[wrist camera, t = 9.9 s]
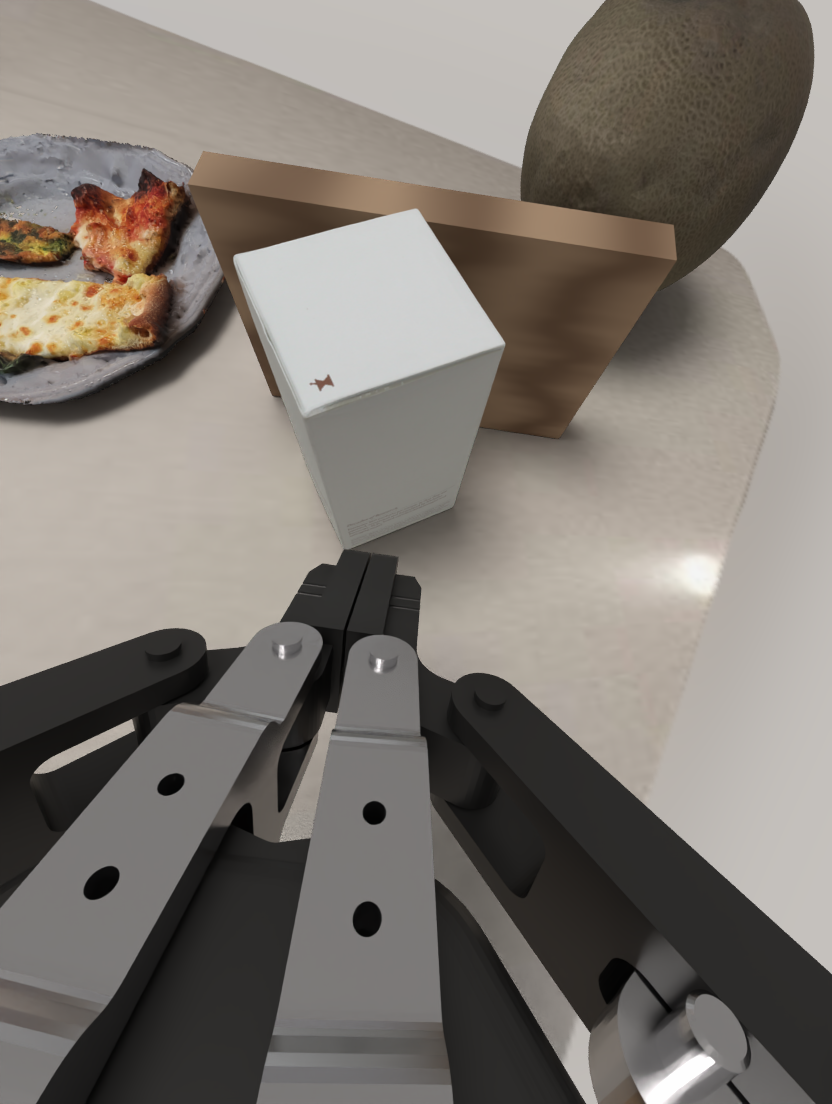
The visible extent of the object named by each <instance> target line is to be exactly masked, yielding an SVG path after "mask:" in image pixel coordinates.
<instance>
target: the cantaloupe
mask: <svg viewBox="0 0 832 1104" xmlns="http://www.w3.org/2000/svg"><path fill="white" fill-rule="evenodd" d="M813 69H814V42H813V33H812V28H811V23H810V21H809V18H808V15H807V13H806V11H805V9H804V8H803V6H802V5H801V4H800V2H798V0H606V1H605V2H604V3H603V4H602V5H601V6H600V8H599V9H598V10H597V11H596V13H595V14H594V15H593V17H592V18H591V19H590V20H589V21H588V22H587V23H586V24H585V25H584V27H583V28H582V29H581V30H580V31H579V32H578V34H577V35H576V37H575V38H574V39H573V41H572V42H571V44H570V45H569V46H568V48H567V50H566V52H565V53H564V55H563V57H562V59H561V61H560V63H559V64H558V66H557V69H556V71H555V72H554V74H553V76H552V79H551V80H550V82H549V84H548V86H547V88H546V90H545V92H544V94H543V97H542V99H541V101H540V103H539V105H538V108H537V110H536V113H535V116H534V119H533V121H532V124H531V126H530V129H529V133H528V136H527V141H526V146H525V151H524V158H523V165H522V173H521V201H524V202H530V203H537V204H543V205H549V206H556V207H562V208H569V209H575V210H581V211H588V212H594V213H601V214H607V215H613V216H620V217H626V218H632V219H639V220H645V221H652V222H658V223H664V224H671V225H674V234H675V245H676V256H677V261H676V263H675V264H674V266H673V267H672V269H671V270H670V272H669V273H668V275H667V276H666V278H665V279H664V281H663V282H662V284H661V285H660V287H659V288H658V290H657V291H659V290H662V289H664V288H666V287H667V286H669V285H671V284H673V283H674V282H676V281H678V280H679V279H681V278H682V277H684V276H685V275H687V274H688V273H690V272H691V271H693V270H694V269H695V268H697V267H698V266H699V265H701V264H702V263H703V262H704V261H706V260H707V259H708V258H709V257H710V256H711V255H713V254H714V253H715V252H716V251H717V250H718V249H719V248H720V247H721V246H722V245H723V244H724V243H725V242H726V241H727V240H728V239H729V238H730V237H731V236H732V235H733V234H734V232H735V231H736V230H737V229H738V228H739V227H740V225H741V224H742V223H743V222H744V221H745V219H746V218H747V217H748V216H749V214H750V213H751V212H752V210H753V209H754V208H755V206H756V205H757V203H758V202H759V201H760V199H761V198H762V196H763V195H764V193H765V191H766V190H767V188H768V187H769V185H770V184H771V182H772V180H773V179H774V177H775V175H776V174H777V172H778V170H779V168H780V166H781V164H782V163H783V161H784V159H785V157H786V155H787V153H788V152H789V149H790V147H791V145H792V142H793V140H794V138H795V136H796V134H797V131H798V128H799V126H800V123H801V121H802V118H803V115H804V112H805V109H806V106H807V103H808V98H809V94H810V90H811V85H812V79H813ZM657 291H656V292H657Z"/></svg>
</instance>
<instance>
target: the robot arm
mask: <svg viewBox="0 0 832 1104" xmlns="http://www.w3.org/2000/svg"><path fill="white" fill-rule="evenodd" d="M397 565H398V557H395V556H389V555H382V554H375V553H372V556H371V553H368V552H361V551H354V550H347V549H344V551H343V553H342V555H341V557H340V559H339V561H338V563H337V565H329V564H321V565H319V566H318V567H316V568H314V569H313V570H311V571H310V572H309V573H308V575H307V577H306V578H305V580H304V582H303V585H301V587H300V589H299V590H298V593H297V594H296V595H295V597H294V599H293V600H292V602H291V604H290V606H289V607H288V609H287V611H286V612H285V614H284V616H283V618H282V619H281V621H280V623H276V624H273V625H270V626H267V627H265V628H264V629H262V630H260V631H259V632H258V633H257V634H256V635H255V636H254V637H253V638H252V640H251V641H250V642H249V643H248V645H247V646H245V647H239V648H230V649H217V650H207V647H206V642H205V639H204V638H203V637H202V636H201V635H200V634H199V633H197V632H195V631H192V630H188V629H179V628H173V629H163V630H159V631H155V632H152V633H148V634H146V635H143V636H140V637H137V638H134V639H132V640H129V641H126V642H123V643H120V644H118V645H115V646H112V647H109V648H106V649H103V650H101V651H98V652H95V653H92V654H89V655H87V656H84V657H81V658H78V659H75V660H73V661H70V662H67V663H64V664H61V665H59V666H56V667H53V668H50V669H47V670H45V671H42V672H39V673H36V674H33V675H31V676H28V677H25V678H22V679H19V680H16V681H14V682H11V683H8V684H5V685H2V686H0V1104H586V1103H585V1101H584V1100H583V1098H582V1096H581V1095H580V1093H579V1091H578V1090H577V1088H576V1086H575V1085H574V1083H573V1081H572V1080H571V1078H570V1076H569V1075H568V1073H567V1071H566V1069H565V1068H564V1066H563V1064H562V1063H561V1061H560V1059H559V1058H558V1056H557V1054H556V1053H555V1051H554V1049H553V1048H552V1046H551V1044H550V1043H549V1041H548V1039H547V1038H546V1036H545V1034H544V1033H543V1031H542V1029H541V1027H540V1026H539V1024H538V1022H537V1021H536V1019H535V1017H534V1016H533V1014H532V1012H531V1011H530V1009H529V1007H528V1006H527V1004H526V1002H525V1001H524V999H523V997H522V996H521V994H520V992H519V991H518V989H517V987H516V985H515V984H514V982H513V980H512V979H511V977H510V975H509V974H508V972H507V970H506V969H505V967H504V965H503V964H502V962H501V960H500V959H499V957H498V955H497V954H496V952H495V950H494V949H493V947H492V945H491V943H490V942H489V940H488V938H487V937H486V935H485V934H484V932H483V930H482V929H481V927H480V926H479V924H478V923H477V921H476V920H475V919H474V917H473V916H472V915H471V913H470V912H469V911H468V910H467V908H466V907H465V906H464V905H463V904H462V903H461V902H460V901H459V899H458V898H457V897H456V896H455V895H454V894H453V893H452V892H451V891H450V890H448V889H447V888H446V887H445V886H444V885H442V884H441V883H440V882H439V881H438V880H436V879H434V863H433V844H432V825H431V805H430V799H431V801H432V804H433V806H434V808H435V809H436V811H437V812H438V814H439V815H440V817H441V818H442V820H443V821H444V822H445V824H446V825H447V827H448V828H449V830H450V831H451V833H452V834H453V835H454V837H455V838H456V840H457V841H458V843H459V844H460V846H461V847H462V848H463V850H464V851H465V853H466V854H467V856H468V857H469V859H470V860H471V861H472V863H473V864H474V866H475V867H476V869H477V870H478V872H479V873H480V874H481V876H482V877H483V879H484V880H485V882H486V883H487V885H488V886H489V887H490V889H491V890H492V892H493V893H494V895H495V896H496V898H497V899H498V900H499V902H500V903H501V905H502V906H503V908H504V909H505V911H506V912H507V913H508V915H509V916H510V918H511V919H512V921H513V922H514V924H515V925H516V926H517V928H518V929H519V931H520V932H521V934H522V935H523V937H524V938H525V939H526V941H527V942H528V944H529V945H530V947H531V948H532V950H533V951H534V952H535V954H536V955H537V957H538V958H539V960H540V961H541V963H542V964H543V965H544V967H545V968H546V970H547V971H548V973H549V974H550V976H551V977H552V978H553V980H554V981H555V983H556V984H557V986H558V987H559V989H560V990H561V991H562V993H563V994H564V996H565V997H566V999H567V1000H568V1002H569V1003H570V1004H571V1006H572V1007H573V1009H574V1010H575V1012H576V1013H577V1015H578V1016H579V1017H580V1019H581V1020H582V1022H583V1023H584V1025H585V1026H586V1028H587V1029H588V1030H589V1032H590V1033H591V1034H590V1040H589V1067H590V1075H591V1080H592V1084H593V1089H594V1092H595V1095H596V1098H597V1101H598V1104H832V974H831V973H830V972H829V971H828V970H826V969H825V968H824V967H823V966H822V965H821V964H820V963H819V962H818V961H817V960H815V959H814V958H813V957H812V956H811V955H810V954H809V953H808V952H807V951H805V950H804V949H803V948H802V947H801V946H800V945H799V944H798V943H797V942H796V941H794V940H793V939H792V938H791V937H790V936H789V935H788V934H787V933H785V932H784V931H783V930H782V929H781V928H780V927H779V926H778V925H777V924H775V923H774V922H773V921H772V920H771V919H770V918H769V917H768V916H767V915H766V914H765V913H763V912H762V911H761V910H760V909H759V908H758V907H757V906H756V905H755V904H754V903H752V902H751V901H750V900H749V899H748V898H747V897H746V896H745V895H744V894H742V893H741V892H740V891H739V890H738V889H737V888H736V887H735V886H734V885H732V884H731V883H730V882H729V881H728V880H727V879H726V878H725V877H724V876H723V875H721V874H720V873H719V872H718V871H717V870H716V869H715V868H714V867H713V866H711V865H710V864H709V863H708V862H707V861H706V860H705V859H704V858H703V857H702V856H700V855H699V854H698V853H697V852H696V851H695V850H694V849H692V847H691V846H689V845H688V844H687V843H686V842H685V841H684V840H683V839H682V838H680V837H679V836H678V835H677V834H676V833H675V832H674V831H673V830H671V828H669V827H668V826H667V825H666V824H665V823H664V822H663V821H662V820H661V819H659V818H658V817H657V816H656V815H655V814H654V813H653V812H652V811H651V810H650V809H649V808H647V807H646V806H645V805H644V804H643V803H642V802H641V801H640V800H639V799H637V798H636V797H635V796H634V795H633V794H632V793H631V792H630V791H629V790H628V789H626V788H625V787H624V786H623V785H622V784H621V783H620V782H619V781H618V780H616V779H615V778H614V777H613V776H612V775H611V774H610V773H609V772H608V771H607V770H605V769H604V768H603V767H602V766H601V765H600V764H599V763H598V762H597V761H595V760H594V759H593V758H592V757H591V756H590V755H589V754H588V753H587V752H586V751H584V750H583V749H582V748H581V747H580V746H579V745H578V744H577V743H576V742H574V741H573V740H572V739H571V738H570V737H569V736H568V735H567V734H566V733H565V732H563V731H562V730H561V729H560V728H559V727H558V726H557V725H556V724H555V723H553V722H552V721H551V720H550V719H549V718H548V717H547V716H546V715H545V714H544V713H542V712H541V711H540V710H539V709H538V708H537V707H536V706H535V705H534V704H532V703H531V702H530V701H529V700H528V699H527V698H526V697H525V696H524V695H523V694H521V693H520V692H519V691H518V690H517V689H516V688H515V687H514V686H512V685H511V684H510V683H508V682H507V681H505V680H503V679H501V678H499V677H497V676H494V675H490V674H485V673H472V674H468V675H465V676H463V677H461V678H460V679H458V680H457V681H456V683H453V682H451V681H448V680H446V679H443V678H441V677H439V676H437V675H435V674H434V673H432V672H431V671H429V670H428V669H427V668H426V667H425V666H424V665H423V664H422V663H421V661H420V660H419V658H418V655H417V636H418V624H419V610H420V599H421V587H420V585H419V583H418V582H417V580H416V579H415V577H411V576H404V575H397V574H396V573H397ZM338 708H339V710H338ZM325 711H326V712H333V713H337V712H338V715H337V721H336V726H335V729H333V730H332V733H331V737H330V742H329V747H328V752H327V757H326V762H325V767H324V773H323V778H322V783H321V788H320V793H319V799H318V804H317V809H316V814H315V819H314V825H313V830H312V835H311V838H308V839H301V840H294V841H286V842H279V841H280V837H281V833H282V829H283V826H284V823H285V821H286V818H287V816H288V813H289V811H290V808H291V806H292V803H293V801H294V798H295V796H296V794H297V791H298V789H299V786H300V784H301V781H302V779H303V776H304V774H305V771H306V769H307V766H308V764H309V762H310V759H311V757H312V754H313V752H314V749H315V747H316V744H317V741H318V731H319V729H320V727H321V724H322V721H323V718H324V714H325ZM130 719H132V720H133V724H134V729H135V731H134V732H131V733H129V734H127V735H125V736H123V737H121V738H119V739H117V740H115V741H113V742H111V743H109V744H107V745H105V746H103V747H101V748H99V749H97V750H95V751H93V752H91V753H89V754H87V755H85V756H83V757H81V758H79V759H77V760H75V761H73V762H71V763H69V764H67V765H65V766H63V767H61V768H59V769H57V770H54V771H52V772H49V773H45V774H34V772H35V770H36V769H37V768H38V767H39V766H40V765H41V764H42V763H44V762H45V761H46V760H48V759H49V758H51V757H53V756H55V755H57V754H59V753H61V752H63V751H65V750H67V749H69V748H71V747H73V746H76V745H78V744H80V743H82V742H84V741H86V740H88V739H90V738H92V737H95V736H97V735H99V734H101V733H103V732H105V731H107V730H109V729H111V728H113V727H116V726H118V725H120V724H122V723H124V722H126V721H128V720H130Z"/></svg>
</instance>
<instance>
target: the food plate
mask: <svg viewBox="0 0 832 1104" xmlns="http://www.w3.org/2000/svg"><path fill="white" fill-rule="evenodd" d="M46 135H47V136H46ZM54 136H55V135H54ZM86 139H87V140H85V139H84V138H82V137H81V138H79V139H77V137H71V136H69V137H65V136H59V135H58V136H57V135H56V137H52V136H50V134H42V133H41V134H39V133H36V134H32V135H29V136H24V135H23V136H20V137H9V138H7V139H2V140H0V276H1V275H3V277H0V401H5V402H6V401H7V402H10V403H11V402H14V403H19V404H21V403H20V402H22V403H23V404H24V403H25V401H27V402H28V403H29V404H24V405H32V404H34V405H35V404H40V403H42V404H44V403H54V402H56V403H57V402H58V403H59V402H60V403H62V402H65V401H68V400H72V399H74V400H75V399H80V398H83V397H85V396H88V395H90V394H94V393H96V392H99V391H100V390H103V389H104V388H107V387H109V386H110V385H112V384H111V383H114V384H115V383H116V382H118V380H121V379H123V378H125V377H126V376H130V375H131V374H134V373H135V371H137V372H138V371H139V370H140V369H141V370H143V369H144V367H145V366H149V365H150V364H152V365H153V364H154V362H156V361H158V360H160V359H161V358H162V357H165V355H168V354H167V353H168V352H170V350H172V348H173V347H175V344H177V343H178V342H179V341H181V340H183V339H184V338H185V337H187V335H190V334H191V333H193V332H194V329H196V328H197V325H198V324H200V323H201V319H202V318H203V316H204V315H205V313H206V312H205V310H206V311H208V310H207V308H209V307H210V306H211V303H212V302H213V300H214V298H215V296H216V294H217V293H218V291H219V288H220V286H221V285H222V283H223V282H224V279H225V276H224V274H223V271H222V269H221V266H220V264H219V261H218V259H217V256H216V254H215V251H214V249H213V246H212V244H211V241H210V239H209V236H208V234H207V231H206V229H205V226H204V224H203V221H202V219H201V216H200V214H199V211H198V209H197V206H196V204H195V201H194V199H193V196H192V194H191V192H190V189H189V187H188V182H189V180H190V178H191V176H192V174H193V172H194V171H193V169H192V168H191V167H188V165H186V164H183V163H179V162H177V160H176V161H175V160H174V159H173V158H170V157H168V156H166V155H165V154H163V153H162V152H161V151H157V150H156V149H155V148H149V147H147V146H146V147H144V146H143V147H144V148H142V147H141V146H140V145H139V146H138V145H137V146H136V145H135V146H132V145H130V144H128V143H127V144H126V143H125V144H123V143H122V144H120V143H117V142H115V141H114V142H111V141H110V142H107V141H104V142H103V141H100V140H98V139H97V140H96V139H91V138H89V139H88V138H86ZM18 206H22V208H16V207H18ZM56 206H58V207H57V208H56V209H55V207H56ZM27 209H29V210H27ZM52 211H53V212H52ZM11 212H14V213H15V214H13V215H11V216H10V213H11ZM1 213H3V214H1ZM19 213H25V214H23V215H21V214H20V215H19ZM4 214H6V216H7V217H6V218H4V217H3V216H4ZM36 214H38V215H36ZM8 217H14V218H18V219H21V221H20V220H18V222H17V221H16V219H15V220H12V221H10V220H8ZM106 278H109V279H112V280H113V281H112V282H110V283H108V282H106V281H105V279H106ZM162 359H163V358H162Z"/></svg>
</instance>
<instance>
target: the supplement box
mask: <svg viewBox="0 0 832 1104" xmlns="http://www.w3.org/2000/svg"><path fill="white" fill-rule="evenodd" d="M233 261H234V265H235V268H236V271H237V274H238V277H239V280H240V283H241V286H242V289H243V292H244V295H245V298H246V301H247V304H248V307H249V310H250V313H251V315H252V318H253V321H254V324H255V326H256V329H257V332H258V334H259V337H260V340H261V342H262V345H263V348H264V351H265V353H266V356H267V359H268V361H269V364H270V367H271V369H272V372H273V375H274V377H275V380H276V383H277V386H278V388H279V391H280V394H281V396H282V399H283V402H284V405H285V407H286V410H287V413H288V415H289V418H290V421H291V423H292V426H293V429H294V432H295V434H296V437H297V440H298V443H299V445H300V448H301V451H302V454H303V457H304V460H305V462H306V465H307V467H308V470H309V473H310V475H311V478H312V480H313V483H314V485H315V487H316V490H317V492H318V494H319V497H320V499H321V501H322V503H323V506H324V508H325V510H326V512H327V514H328V517H329V519H330V521H331V523H332V525H333V528H334V530H335V532H336V534H337V536H338V538H339V541H340V543H341V545H342V547H343V549H347V550H348V549H351V548H354V547H356V546H359V545H361V544H364V543H366V542H369V541H371V540H374V539H376V538H378V537H381V536H384V535H386V534H389V533H391V532H394V531H396V530H398V529H401V528H404V527H406V526H409V525H411V524H413V523H416V522H418V521H421V520H423V519H426V518H428V517H431V516H433V515H436V514H438V513H441V512H443V511H445V510H448V509H450V508H452V507H453V506H454V504H455V501H456V498H457V494H458V491H459V488H460V485H461V482H462V479H463V475H464V472H465V469H466V466H467V463H468V460H469V457H470V454H471V450H472V447H473V444H474V441H475V438H476V435H477V432H478V428H479V425H480V422H481V419H482V416H483V412H484V409H485V406H486V403H487V400H488V397H489V394H490V391H491V387H492V384H493V381H494V378H495V375H496V372H497V368H498V365H499V362H500V359H501V356H502V353H503V350H504V348H505V342H504V340H503V338H502V337H501V335H500V334H499V333H498V331H497V330H496V328H495V327H494V325H493V324H492V322H491V321H490V319H489V318H488V316H487V314H486V313H485V311H484V310H483V308H482V307H481V305H480V304H479V302H478V301H477V299H476V298H475V296H474V295H473V293H472V292H471V290H470V289H469V287H468V286H467V284H466V282H465V281H464V279H463V278H462V276H461V275H460V273H459V272H458V270H457V269H456V267H455V266H454V264H453V262H452V261H451V259H450V258H449V256H448V255H447V253H446V252H445V250H444V249H443V247H442V246H441V244H440V242H439V241H438V239H437V238H436V236H435V235H434V233H433V231H432V230H431V228H430V227H429V225H428V224H427V222H426V221H425V219H424V218H423V216H422V214H421V213H420V211H419V210H418V209H411V210H407V211H403V212H399V213H394V214H390V215H386V216H382V217H378V218H375V219H371V220H367V221H364V222H359V223H355V224H351V225H347V226H344V227H340V228H336V229H332V230H328V231H325V232H321V233H317V234H314V235H310V236H306V237H303V238H299V239H295V240H292V241H288V242H284V243H281V244H277V245H273V246H270V247H266V248H262V249H258V250H253V251H249V252H245V253H240V254H236V255H234V257H233Z"/></svg>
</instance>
